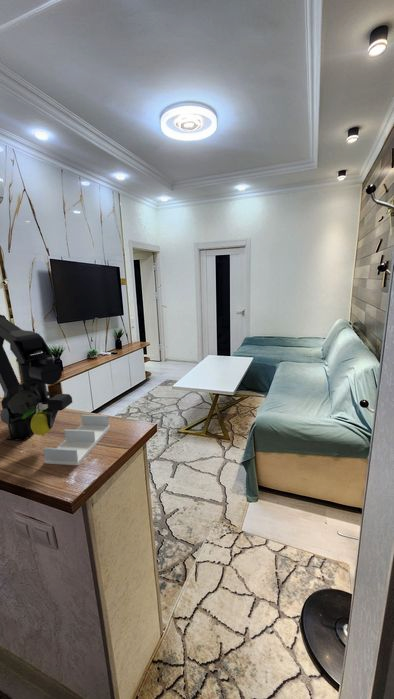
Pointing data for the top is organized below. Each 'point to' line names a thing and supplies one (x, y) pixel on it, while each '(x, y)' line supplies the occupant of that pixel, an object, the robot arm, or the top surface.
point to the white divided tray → (78, 441)
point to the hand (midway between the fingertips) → (41, 427)
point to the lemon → (38, 422)
